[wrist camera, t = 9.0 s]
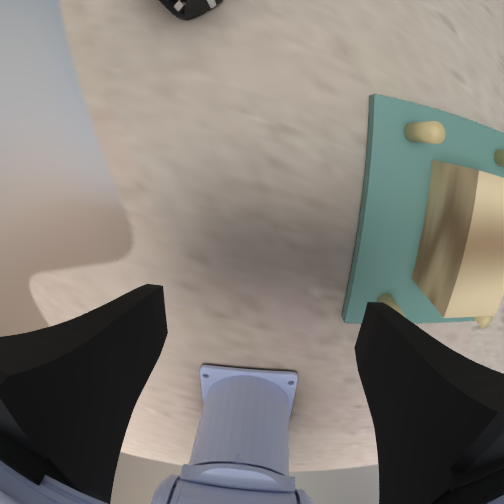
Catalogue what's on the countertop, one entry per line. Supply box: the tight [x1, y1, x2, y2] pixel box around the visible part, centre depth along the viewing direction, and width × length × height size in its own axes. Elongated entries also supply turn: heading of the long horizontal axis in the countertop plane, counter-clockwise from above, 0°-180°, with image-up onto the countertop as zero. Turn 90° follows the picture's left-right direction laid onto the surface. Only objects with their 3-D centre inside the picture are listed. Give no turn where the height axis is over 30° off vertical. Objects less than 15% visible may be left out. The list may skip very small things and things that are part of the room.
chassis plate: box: [342, 94, 504, 328], centre depth 16 cm, size 15×13×4 cm
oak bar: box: [411, 160, 504, 318], centre depth 14 cm, size 8×4×5 cm, turn 178°
